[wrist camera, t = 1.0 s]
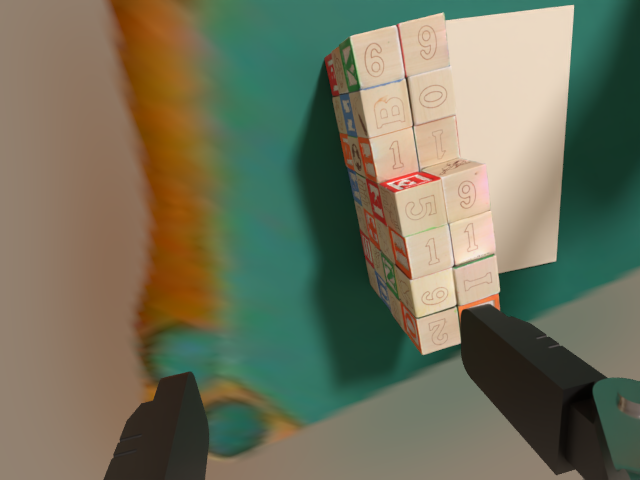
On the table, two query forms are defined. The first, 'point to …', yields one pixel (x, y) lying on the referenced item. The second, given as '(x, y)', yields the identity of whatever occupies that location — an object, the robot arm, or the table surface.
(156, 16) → the table surface
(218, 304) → the table surface
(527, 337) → the robot arm
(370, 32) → the stack of blocks
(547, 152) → the mat
